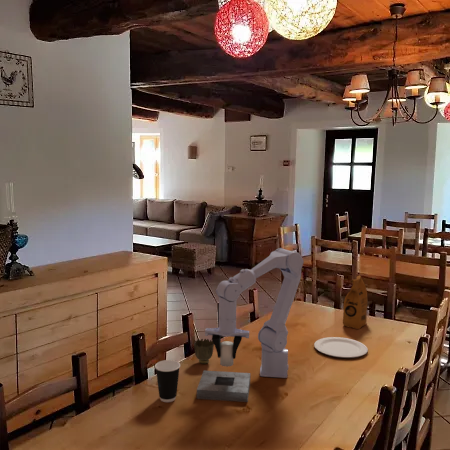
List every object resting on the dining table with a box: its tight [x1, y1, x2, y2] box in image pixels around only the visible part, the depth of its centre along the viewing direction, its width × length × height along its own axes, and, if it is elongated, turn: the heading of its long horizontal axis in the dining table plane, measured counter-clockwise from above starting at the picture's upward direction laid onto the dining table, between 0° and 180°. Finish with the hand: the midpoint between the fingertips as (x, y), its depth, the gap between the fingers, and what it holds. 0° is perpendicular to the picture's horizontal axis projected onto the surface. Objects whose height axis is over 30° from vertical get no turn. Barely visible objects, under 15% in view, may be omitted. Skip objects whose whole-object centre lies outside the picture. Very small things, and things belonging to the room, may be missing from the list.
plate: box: [313, 336, 369, 359], centre depth 191 cm, size 21×21×2 cm
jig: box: [196, 369, 251, 403], centre depth 157 cm, size 16×14×3 cm
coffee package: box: [342, 275, 368, 330], centre depth 219 cm, size 10×12×22 cm
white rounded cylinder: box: [219, 340, 234, 367], centre depth 160 cm, size 4×4×7 cm
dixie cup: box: [154, 359, 181, 403], centre depth 150 cm, size 8×8×11 cm
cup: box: [193, 338, 215, 365], centre depth 177 cm, size 8×7×8 cm
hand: (226, 357), depth 159 cm, fingers closed on white rounded cylinder, 4 cm apart
